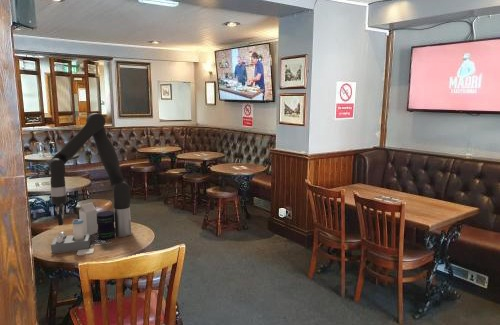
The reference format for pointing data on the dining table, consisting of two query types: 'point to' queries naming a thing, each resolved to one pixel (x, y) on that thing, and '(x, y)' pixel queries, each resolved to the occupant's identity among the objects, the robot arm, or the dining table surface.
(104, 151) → the robot arm
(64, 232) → the plunger
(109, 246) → the dining table surface
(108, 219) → the storage jar
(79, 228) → the tumbler with domed lid
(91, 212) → the milk carton
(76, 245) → the housing
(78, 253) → the coaster
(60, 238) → the plunger
